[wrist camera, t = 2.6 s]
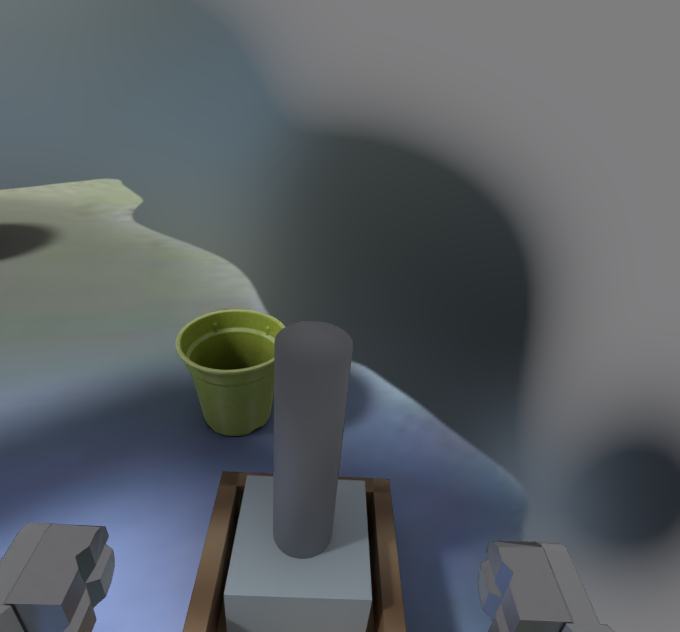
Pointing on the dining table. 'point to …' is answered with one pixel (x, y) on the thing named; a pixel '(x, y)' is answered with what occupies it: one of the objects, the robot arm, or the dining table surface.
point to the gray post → (303, 502)
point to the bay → (208, 593)
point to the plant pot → (232, 367)
